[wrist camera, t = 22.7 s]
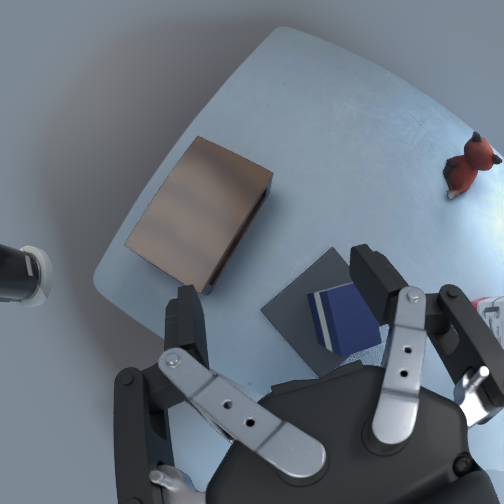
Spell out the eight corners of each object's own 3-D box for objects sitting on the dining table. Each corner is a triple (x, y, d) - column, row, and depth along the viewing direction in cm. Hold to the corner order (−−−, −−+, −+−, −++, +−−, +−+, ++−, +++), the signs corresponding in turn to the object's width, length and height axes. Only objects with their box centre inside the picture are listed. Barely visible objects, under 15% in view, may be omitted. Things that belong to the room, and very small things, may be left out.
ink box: (467, 302, 42) (512, 299, 30) (483, 297, 42) (527, 293, 30) (469, 348, 40) (513, 354, 28) (486, 340, 40) (528, 344, 28)
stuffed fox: (431, 191, 45) (470, 164, 33) (443, 149, 47) (476, 120, 35) (459, 214, 44) (500, 193, 32) (469, 171, 46) (504, 147, 34)
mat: (321, 379, 40) (321, 380, 39) (260, 309, 41) (260, 309, 41) (387, 315, 41) (388, 316, 41) (331, 247, 43) (332, 246, 42)
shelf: (208, 295, 42) (200, 294, 35) (142, 253, 43) (123, 245, 36) (270, 191, 44) (273, 172, 37) (204, 158, 45) (197, 135, 38)
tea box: (318, 344, 40) (341, 357, 29) (306, 293, 41) (326, 290, 30) (350, 334, 40) (382, 343, 29) (339, 285, 41) (368, 278, 31)
